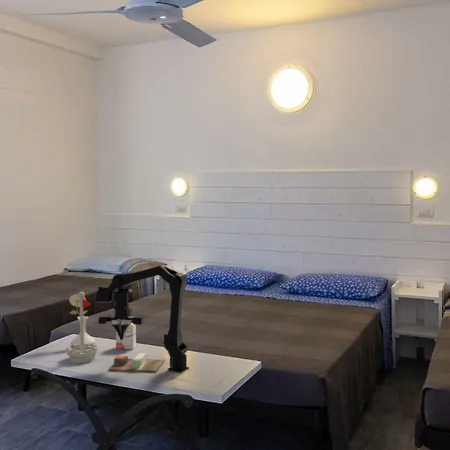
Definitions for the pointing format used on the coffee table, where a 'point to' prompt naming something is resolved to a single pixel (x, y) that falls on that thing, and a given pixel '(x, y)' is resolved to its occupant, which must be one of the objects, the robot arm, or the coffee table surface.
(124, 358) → the button
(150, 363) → the brown control panel
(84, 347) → the flag stand
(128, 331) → the ink cartridge box
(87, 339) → the flower in vase
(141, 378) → the coffee table surface
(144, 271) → the robot arm
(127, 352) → the coffee table surface
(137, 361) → the block
